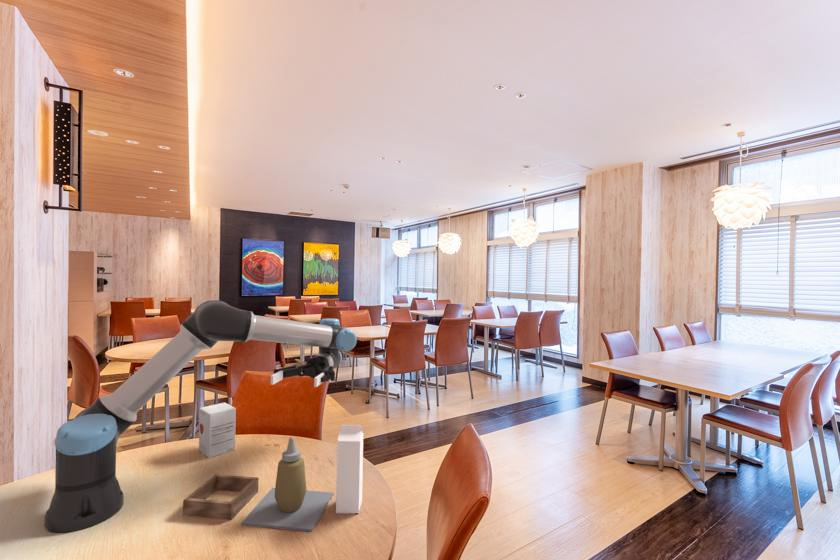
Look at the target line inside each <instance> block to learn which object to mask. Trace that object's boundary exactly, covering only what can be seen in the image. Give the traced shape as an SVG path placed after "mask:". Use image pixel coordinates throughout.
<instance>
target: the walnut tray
mask: <svg viewBox="0 0 840 560" xmlns="http://www.w3.org/2000/svg"><path fill="white" fill-rule="evenodd" d="M216 491H221V492H222V491H223V492H234V493H237V494H235V496H234V497H233V498H232V499H231V500H230V501H228V500H215V499H208V498H209V497H210V496H212V495H213V494H214V493H215V492H216ZM258 493H259V477H254V476H243V475H229V474H219V473H217V474H216V473H215V474H214V475H213V476H211V477H210V478H209V479H208V480H207V481H205V482H204V483H203V484H201V485H200V486H199V487H197V488H196V489H195V490H194V491H192V492H191V493H190V494H189V495H187V496H186V497H185V498H184V499H183V500H182V517H183V516H184V517H196V518H204V519H216V520H225V521H227V520H228V521H232V520H233V519H234V518H235V517H236V515H238V514H239V513H240V511H242V509H244V508H245V507H246V506H247V504H248V503H249V502H250V501H251V500H252V499H253V498H254V497H255V496H256V495H257V494H258Z"/></svg>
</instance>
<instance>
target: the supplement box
mask: <svg viewBox="0 0 840 560" xmlns="http://www.w3.org/2000/svg"><path fill="white" fill-rule="evenodd" d="M198 412H199V414H198V415H199V417H198V419H199V422H198V423H199V424H198V425H199V426H198V430H199V431H198V452H200V453H202V454H203V455H205V457H207V458H209V459H212V458H214V457H218V456H220V454H221V455H224V454H226V453H229V452H233V451H235V450H236V424H237V423H236V421H237V417H236V416H237V415H236V414H237V413H236V412H237V407H234V406H232V405H231V404H229V403H227V402H225V401H224V402H221V403H216V404H212V405H208V406H202V407H199V411H198ZM217 455H218V456H217Z"/></svg>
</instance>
